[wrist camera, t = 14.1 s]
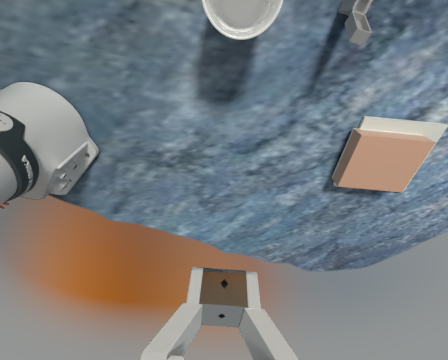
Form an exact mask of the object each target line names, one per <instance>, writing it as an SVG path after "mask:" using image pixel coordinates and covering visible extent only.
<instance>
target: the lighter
mask: <svg viewBox="0 0 448 360" xmlns="http://www.w3.org/2000/svg"><path fill="white" fill-rule="evenodd" d="M372 1H373V0H342V3H341V5H340V7H339V10H338V13H341V14H344V15H347V16H349V17H348V18H347V20H346V22H345V23H344V24H345V27H346V31H347V35H348V38H349V41H350V42H353V43H356V44H359V45H363V44H364V43H365V42H366V40H367V39H368V37H369V36H370V35H371V33H372V32H371V29H370V26H369V24H368V21H367V18H366V16H365V15H364V14H365V13H366V12H367V10H368V8H369V6H370V4H371V2H372Z"/></svg>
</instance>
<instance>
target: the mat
mask: <svg viewBox="0 0 448 360" xmlns="http://www.w3.org/2000/svg"><path fill="white" fill-rule="evenodd" d="M447 127H448V125H447V124H440V123H430V122H420V121H410V120H400V119H390V118H380V117H370V116H363V118H362V120H361V122H360V124H359V127H358V129H368V130H378V131H388V132H398V133H409V134H419V135H424V136H426V137H427V138H429V139H431V140H433V141H434V142H436V143H437V141H438V140H439V138H440V137H441V136H442V134H443V133H444V131H445V130H446V128H447ZM436 143H435V144H436ZM434 146H435V145H434ZM434 146H433V147H434ZM432 149H433V148H432ZM432 149H431V150H432ZM431 150H430V152H431ZM430 152H429V153H430ZM429 153H428V155H429ZM428 155H427V156H428ZM427 156H426V158H427ZM426 158H425V159H426ZM425 159H424V160H425ZM423 162H424V161H423ZM423 162H422V163H423ZM421 165H422V164H421ZM421 165H420V166H421ZM419 168H420V167H419ZM419 168H418V169H419ZM417 171H418V170H417ZM417 171H416V172H417ZM415 174H416V173H415ZM415 174H414V175H415ZM414 175H413V177H414ZM413 177H412V178H413ZM412 178H411V179H412ZM410 181H411V180H410ZM410 181H409V182H410ZM408 184H409V183H408ZM408 184H407V185H408ZM333 186H337V185H336V183H335V182H334V183H333ZM337 187H338V186H337ZM406 187H407V186H406ZM406 187H405V188H406ZM359 189H360V188H359ZM370 190H371V189H370ZM404 190H405V189H404ZM404 190H403V191H404ZM381 191H382V190H381ZM392 192H393V191H392Z"/></svg>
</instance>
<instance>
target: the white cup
mask: <svg viewBox="0 0 448 360" xmlns="http://www.w3.org/2000/svg"><path fill="white" fill-rule="evenodd" d="M202 3H203V7H204V10H205V13H206V15H207V17H208V19H209V20H210V22H211V23H212V25H213V26H214V27H215V28H216V29H217V30H218V31H219V32H220V33H222V34H223V35H225V36H227V37H229V38H232V39H236V40H246V39H250V38H253V37H256V36H258V35H259V34H261V33H262V32H264V31H265V30H266V29H267V28H268V27H269V26H270V25H271V24H272V23H273V21H274V20H275V18H276V17H277V15H278V13H279V11H280V9H281V6H282V3H283V0H202Z"/></svg>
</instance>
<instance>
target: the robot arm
mask: <svg viewBox="0 0 448 360" xmlns="http://www.w3.org/2000/svg"><path fill="white" fill-rule="evenodd" d="M88 154H89V155H90V156H89V155H88ZM98 154H99V149H98V147H97V146H96V144H95V143H94V142H93V141H92V139H91V138H90V137H89V135H88V132H87V129H86V127H85V124H84V122H83V120H82V118H81V117H80V115H79V114H78V112H77V111H76V110H75V109H74V107H73V106H72V105H71V104H70V103H69V102H68V101H67V100H65V99H64V98H63V97H62V96H60V95H59V94H57V93H56V92H54V91H53V90H51V89H49V88H47V87H44V86H42V85H39V84H35V83H29V82H19V83H14V84H12V85H9V86H8V87H6V88H4V89H2V90H0V208H3V209H4V207H3V206H1V204H4V205H9V203H7V202H6V201H10V200H12V199H14V198H16V197H23V198H27V199H33V200H37V199H43V198H45V197H46V196H47V195H48V194H49V193H51V194H56V195H66V194H67V193H68V192H69V191H70V190H71V189H72V188H73V186H74V185H75V184H76V182H77V181H78V180H79V179H80V177H81V176H82V175H83V173H84V172H85V171H86V170H87V168H88V167H89V166H90V164H91V163H92V162H93V160H94V159H95V158H96V157H97V155H98ZM259 296H260V295H259V286H258V276H257V273H256V272H252V271H243V270H226V269H224V270H223V269H212V268H203V267H192V270H191V276H190V282H189V288H188V294H187V300H186V303H182V304H181V306H180V307H179V308H178V309H177V311H176V312H175V313H174V314H173V315H172V317H171V318H170V319H169V320H168V321H167V323H166V324H165V325H164V326H163V328H162V329H161V330H160V331H159V332H158V334H157V335H156V336H155V337H154V339H153V340H152V341H151V342H150V343H149V345H148V346H147V347H146V348H145V350H144V351H143V352H142V356H141V359H140V360H184V358H183V357H182V356H183V354H184V353H185V351H186V349H187V348H188V346H189V345H190V343H191V341H192V340H193V338H194V337H195V335H196V334H197V332H198V330H199V329H200V327H201V325H214V326H215V325H216V326H227V327H237V328H239V330H240V333H241V335H242V337H243V339H244V340H245V343H246V345H247V347H248V349H249V351H250V353H251V355H252V357H253V359H254V360H298V359H297V357H296V356H295V354H294V353H293V351H292V350H291V348H290V347H289V345H288V344H287V343H286V341H285V339H284V338H283V336H282V335H281V333H280V332H279V330H278V329H277V327H276V326H275V324H274V323H273V322H272V320H271V319H270V317H269V316H268V314H267V313H266V311H265V310H264V309H261V305H260V297H259Z"/></svg>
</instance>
